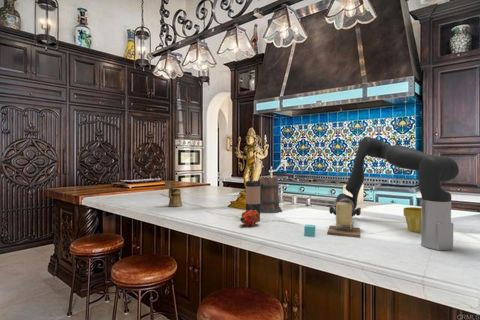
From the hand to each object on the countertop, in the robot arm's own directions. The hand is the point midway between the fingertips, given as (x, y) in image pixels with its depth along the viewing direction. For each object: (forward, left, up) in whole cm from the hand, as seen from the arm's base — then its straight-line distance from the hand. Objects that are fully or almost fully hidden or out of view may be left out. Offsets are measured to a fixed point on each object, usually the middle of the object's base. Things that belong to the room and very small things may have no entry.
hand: (343, 213), depth 129 cm
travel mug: (+33, +33, -9) cm, 48 cm away
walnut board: (+2, -1, -9) cm, 9 cm away
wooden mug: (+79, +77, -9) cm, 111 cm away
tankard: (+54, +21, -9) cm, 59 cm away
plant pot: (0, -35, -9) cm, 36 cm away
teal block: (0, +15, -9) cm, 18 cm away
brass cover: (+2, -1, -6) cm, 6 cm away
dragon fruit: (+20, +37, -9) cm, 43 cm away
